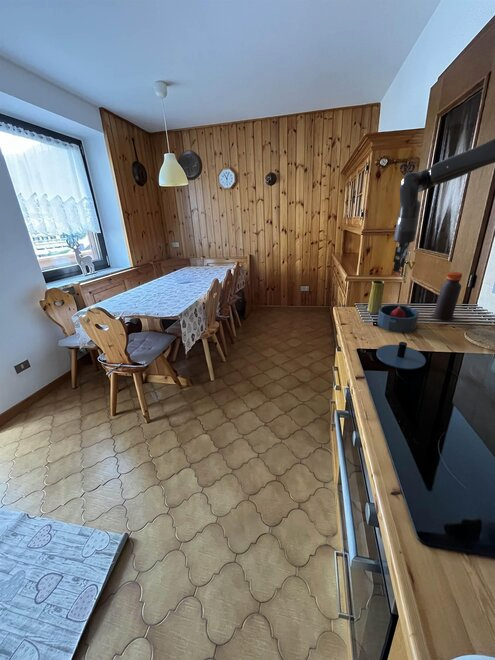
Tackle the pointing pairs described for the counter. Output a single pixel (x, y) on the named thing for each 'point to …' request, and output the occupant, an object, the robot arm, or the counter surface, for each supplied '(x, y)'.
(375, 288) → the vase
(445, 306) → the bottle
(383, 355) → the lid
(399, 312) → the onion
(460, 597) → the counter surface
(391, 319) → the pot
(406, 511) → the counter surface
